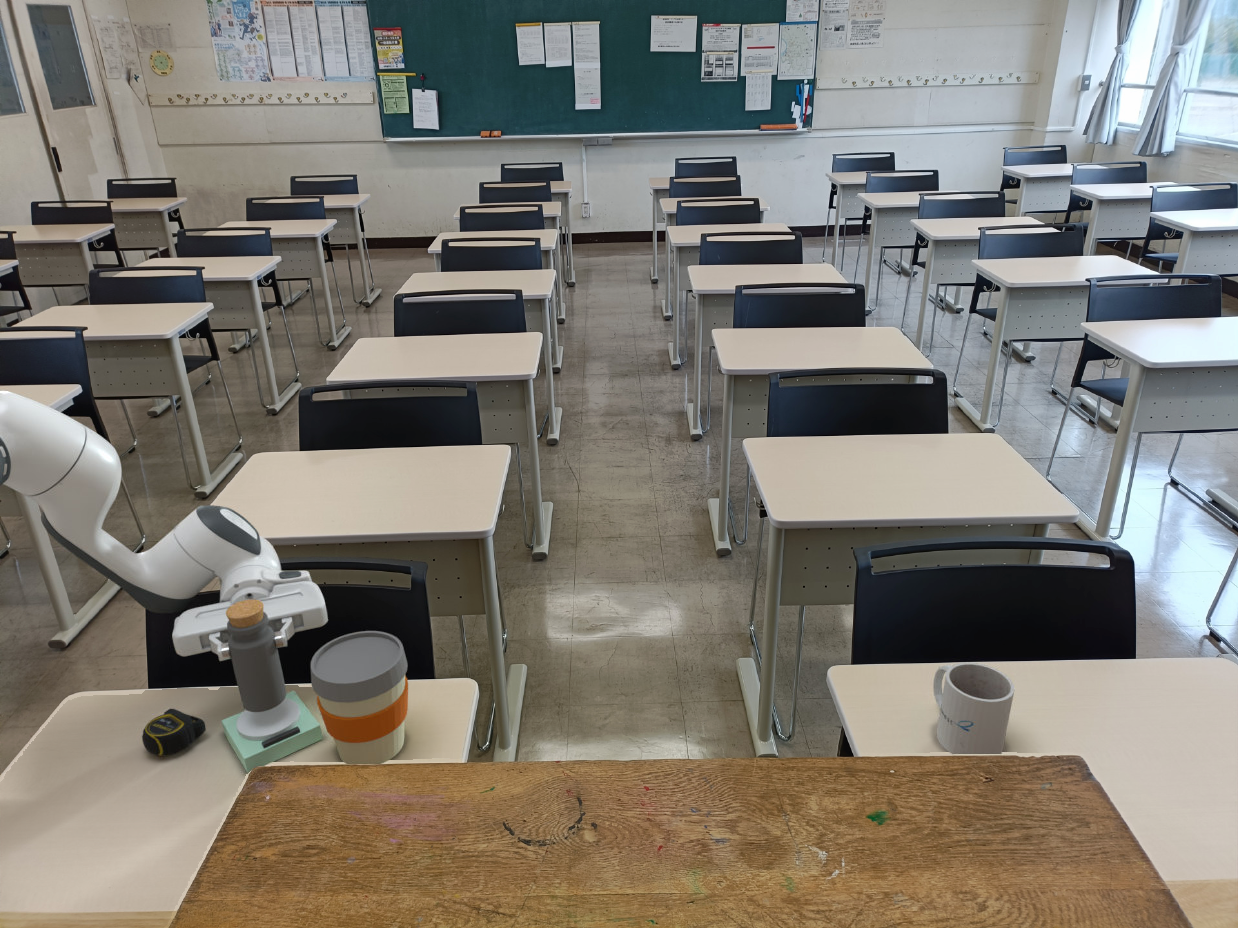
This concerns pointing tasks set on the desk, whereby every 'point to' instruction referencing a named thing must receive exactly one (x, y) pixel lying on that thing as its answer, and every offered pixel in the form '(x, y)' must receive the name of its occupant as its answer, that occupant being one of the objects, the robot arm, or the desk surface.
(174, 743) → the tape measure
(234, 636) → the bottle
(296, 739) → the scale
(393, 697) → the reusable coffee cup
